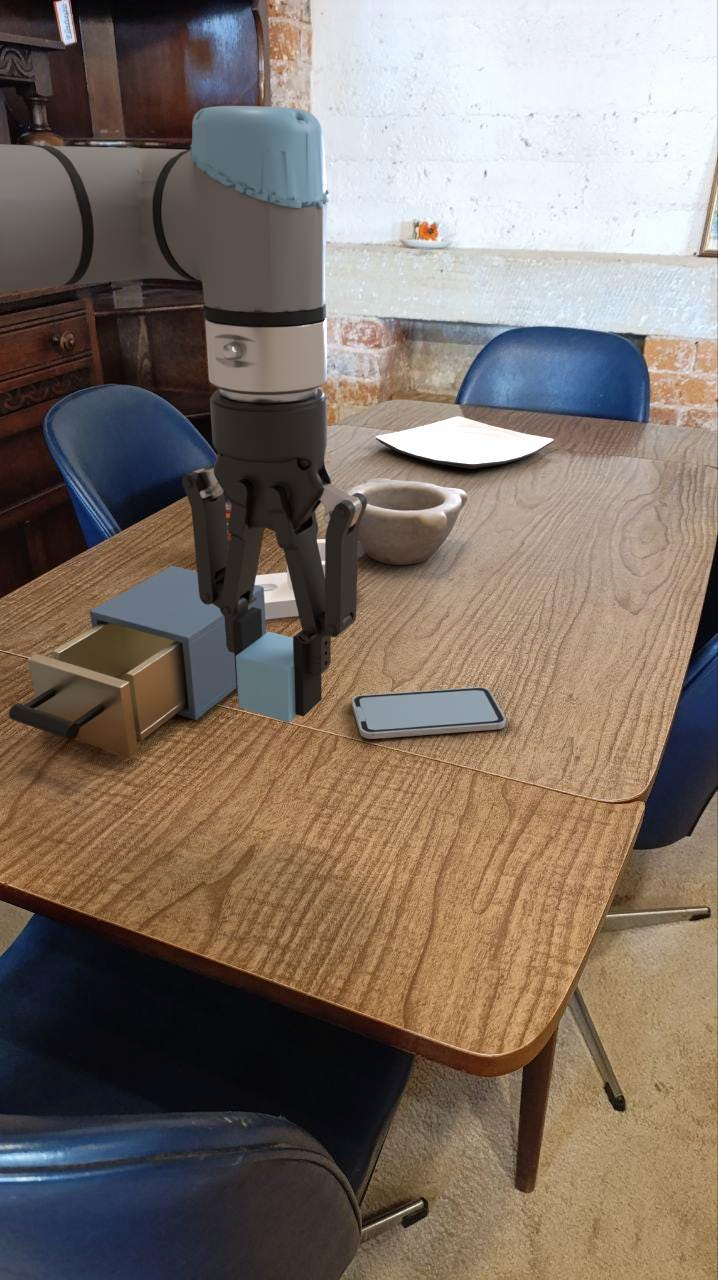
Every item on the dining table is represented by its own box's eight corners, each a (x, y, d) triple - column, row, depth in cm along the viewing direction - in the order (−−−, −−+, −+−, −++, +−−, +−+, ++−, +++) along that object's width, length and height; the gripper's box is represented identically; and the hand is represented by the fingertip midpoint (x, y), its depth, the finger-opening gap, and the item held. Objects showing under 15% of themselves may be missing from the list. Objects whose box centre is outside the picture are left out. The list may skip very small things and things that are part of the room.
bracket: (344, 581, 121) (344, 536, 118) (361, 608, 113) (362, 560, 110) (198, 597, 116) (194, 550, 113) (206, 626, 108) (202, 576, 105)
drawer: (93, 787, 78) (80, 714, 75) (1, 753, 83) (-15, 682, 79) (209, 696, 92) (203, 631, 88) (124, 671, 97) (116, 608, 93)
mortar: (471, 543, 134) (476, 485, 130) (436, 584, 120) (439, 521, 116) (370, 527, 140) (371, 471, 135) (325, 565, 126) (324, 503, 121)
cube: (238, 707, 66) (235, 656, 64) (270, 680, 70) (268, 631, 68) (289, 723, 65) (287, 670, 62) (319, 695, 68) (319, 644, 66)
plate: (563, 452, 178) (564, 439, 177) (472, 481, 161) (473, 467, 160) (456, 426, 197) (457, 414, 195) (364, 449, 179) (365, 436, 178)
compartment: (195, 720, 90) (188, 637, 85) (101, 690, 95) (89, 611, 90) (267, 663, 100) (264, 586, 96) (179, 638, 106) (171, 565, 101)
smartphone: (508, 723, 88) (361, 734, 86) (507, 730, 89) (361, 741, 86) (487, 685, 95) (350, 695, 92) (486, 692, 95) (350, 702, 93)
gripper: (122, 384, 57) (156, 691, 68) (363, 418, 50) (358, 755, 61) (193, 364, 63) (214, 650, 74) (417, 393, 56) (403, 704, 67)
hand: (279, 697), depth 67 cm, fingers closed on cube, 4 cm apart
